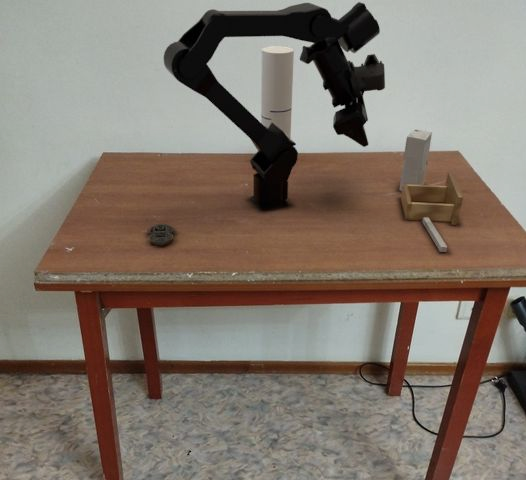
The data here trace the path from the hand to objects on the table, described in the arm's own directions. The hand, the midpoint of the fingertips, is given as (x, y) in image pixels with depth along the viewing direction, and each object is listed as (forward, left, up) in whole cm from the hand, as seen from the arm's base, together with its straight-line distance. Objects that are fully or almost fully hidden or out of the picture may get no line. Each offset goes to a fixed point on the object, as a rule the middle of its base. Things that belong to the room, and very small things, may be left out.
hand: (366, 133), depth 125 cm
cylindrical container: (-9, +24, -13) cm, 29 cm away
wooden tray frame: (+8, -15, -13) cm, 21 cm away
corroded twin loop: (-47, -4, -13) cm, 49 cm away
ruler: (+1, -25, -13) cm, 28 cm away
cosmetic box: (+12, -4, -13) cm, 18 cm away
